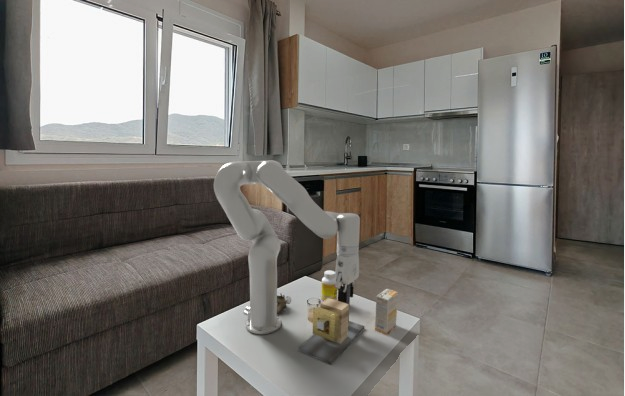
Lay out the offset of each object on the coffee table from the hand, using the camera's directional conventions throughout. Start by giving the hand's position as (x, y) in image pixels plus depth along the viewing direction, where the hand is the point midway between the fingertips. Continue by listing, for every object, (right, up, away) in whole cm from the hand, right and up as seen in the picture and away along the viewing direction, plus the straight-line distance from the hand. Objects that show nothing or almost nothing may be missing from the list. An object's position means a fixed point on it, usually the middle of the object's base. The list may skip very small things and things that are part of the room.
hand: (345, 298), depth 114 cm
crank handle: (-4, -9, -5) cm, 11 cm away
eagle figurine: (-25, -9, +14) cm, 30 cm away
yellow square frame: (-8, -9, -10) cm, 15 cm away
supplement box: (+15, -12, +3) cm, 19 cm away
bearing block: (-5, -12, -5) cm, 14 cm away
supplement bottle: (-5, -8, +22) cm, 24 cm away
